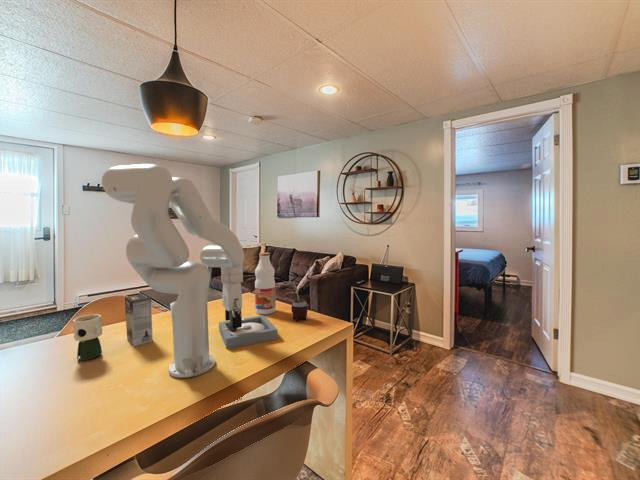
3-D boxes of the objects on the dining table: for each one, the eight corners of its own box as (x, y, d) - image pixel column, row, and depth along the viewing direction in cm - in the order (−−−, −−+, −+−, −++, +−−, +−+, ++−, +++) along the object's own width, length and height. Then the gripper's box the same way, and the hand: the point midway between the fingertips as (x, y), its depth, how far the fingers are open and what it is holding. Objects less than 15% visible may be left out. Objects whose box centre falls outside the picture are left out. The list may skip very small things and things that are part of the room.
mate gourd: (304, 323, 123) (303, 287, 122) (287, 321, 126) (286, 286, 125) (310, 317, 130) (310, 284, 129) (294, 315, 133) (293, 283, 132)
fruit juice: (279, 311, 139) (278, 252, 137) (264, 316, 132) (263, 254, 130) (266, 307, 145) (265, 251, 143) (251, 312, 138) (249, 253, 136)
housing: (277, 338, 107) (277, 329, 107) (226, 349, 99) (226, 338, 99) (264, 323, 123) (263, 314, 123) (219, 331, 115) (218, 321, 115)
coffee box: (126, 339, 107) (123, 296, 106) (145, 334, 112) (143, 293, 111) (133, 347, 101) (131, 301, 100) (154, 341, 106) (151, 297, 105)
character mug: (66, 359, 92) (63, 319, 91) (90, 350, 99) (88, 312, 98) (89, 365, 88) (86, 323, 88) (113, 355, 95) (110, 316, 94)
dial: (259, 323, 119) (258, 301, 119) (268, 334, 108) (267, 309, 107) (227, 328, 114) (226, 305, 113) (233, 340, 102) (232, 315, 102)
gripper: (216, 275, 112) (217, 318, 113) (227, 283, 97) (229, 333, 99) (235, 273, 116) (236, 315, 117) (249, 280, 101) (250, 328, 102)
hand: (233, 323), depth 108 cm, fingers open, 9 cm apart
